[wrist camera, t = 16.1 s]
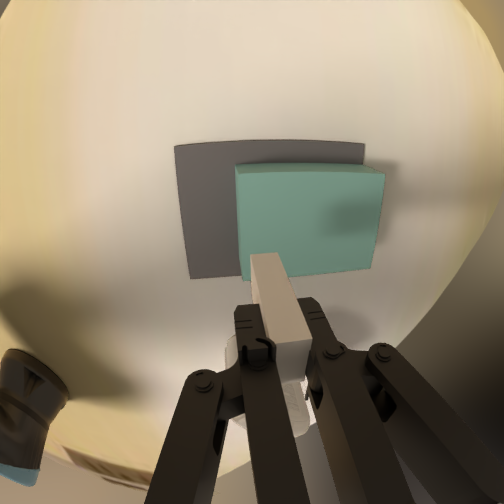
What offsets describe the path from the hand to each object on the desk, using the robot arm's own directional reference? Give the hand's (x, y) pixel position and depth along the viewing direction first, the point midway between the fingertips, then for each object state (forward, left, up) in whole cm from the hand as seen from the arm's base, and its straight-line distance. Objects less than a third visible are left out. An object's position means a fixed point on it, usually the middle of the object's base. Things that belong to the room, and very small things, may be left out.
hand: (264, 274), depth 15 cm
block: (-1, 0, -8) cm, 8 cm away
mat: (+3, 0, -11) cm, 11 cm away
